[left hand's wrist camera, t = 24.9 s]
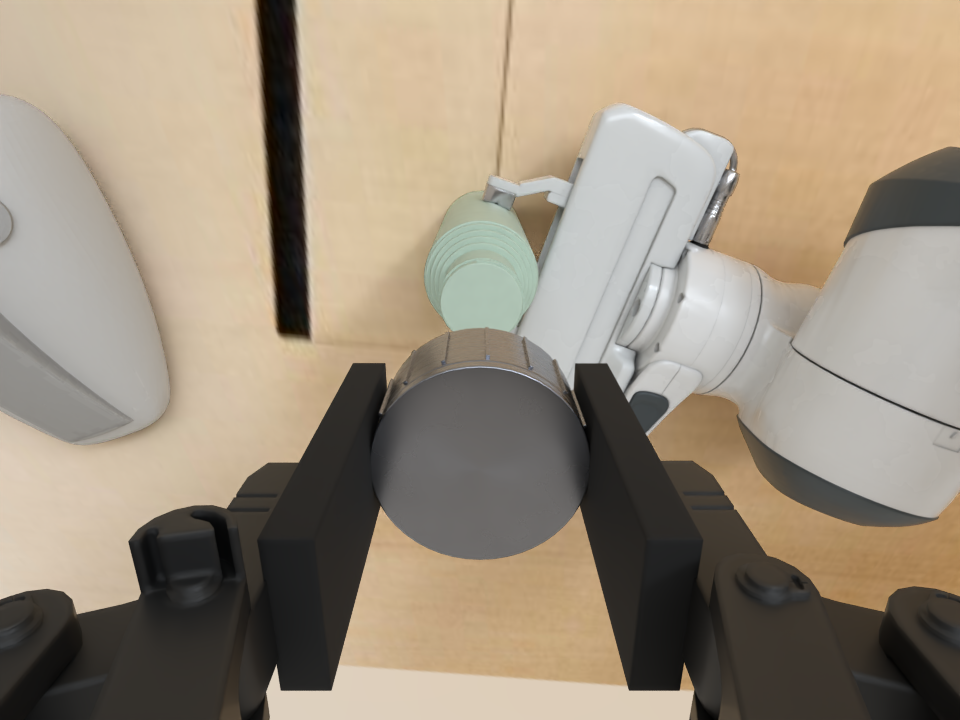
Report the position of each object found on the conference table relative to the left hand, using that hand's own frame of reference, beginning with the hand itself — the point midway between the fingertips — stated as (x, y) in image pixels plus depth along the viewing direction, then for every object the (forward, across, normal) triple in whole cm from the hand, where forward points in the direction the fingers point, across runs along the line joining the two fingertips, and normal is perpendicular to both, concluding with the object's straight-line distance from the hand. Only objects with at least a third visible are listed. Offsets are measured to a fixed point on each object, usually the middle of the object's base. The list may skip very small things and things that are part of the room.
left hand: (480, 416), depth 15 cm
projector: (+30, -30, -4) cm, 42 cm away
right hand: (+23, -1, 0) cm, 24 cm away
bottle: (+30, 0, 0) cm, 30 cm away
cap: (-2, 0, 0) cm, 2 cm away
